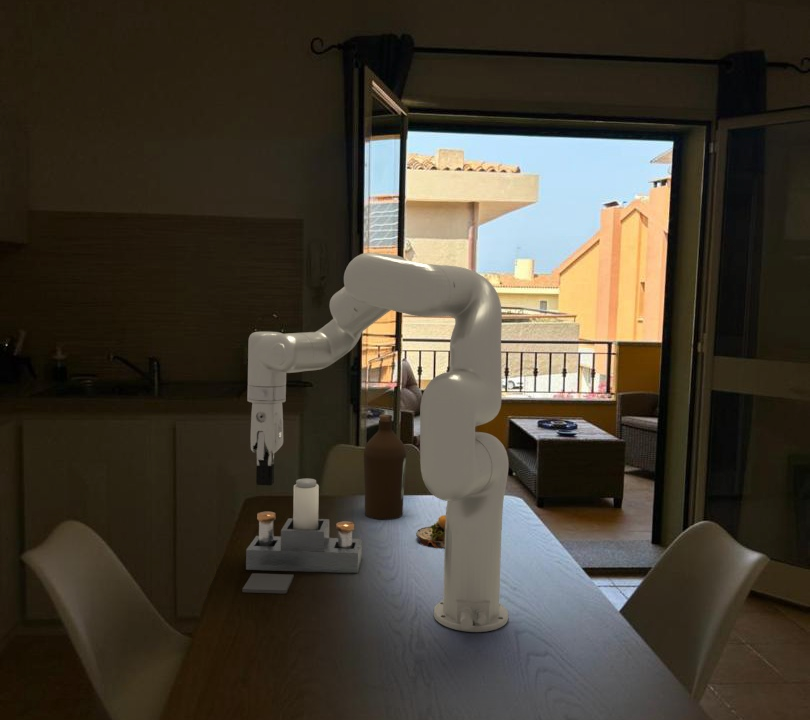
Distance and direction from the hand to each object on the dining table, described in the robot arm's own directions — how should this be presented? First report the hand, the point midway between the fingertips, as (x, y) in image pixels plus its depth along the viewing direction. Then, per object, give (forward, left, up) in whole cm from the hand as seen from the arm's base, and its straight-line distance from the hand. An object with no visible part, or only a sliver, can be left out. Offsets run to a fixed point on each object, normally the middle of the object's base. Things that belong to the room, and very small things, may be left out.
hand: (265, 484), depth 154 cm
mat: (-12, -3, -16) cm, 20 cm away
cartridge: (0, -8, -12) cm, 15 cm away
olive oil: (+37, -22, -16) cm, 46 cm away
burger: (+18, -36, -17) cm, 44 cm away
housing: (0, -8, -16) cm, 18 cm away
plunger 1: (0, 0, -14) cm, 14 cm away
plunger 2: (0, -16, -16) cm, 23 cm away
